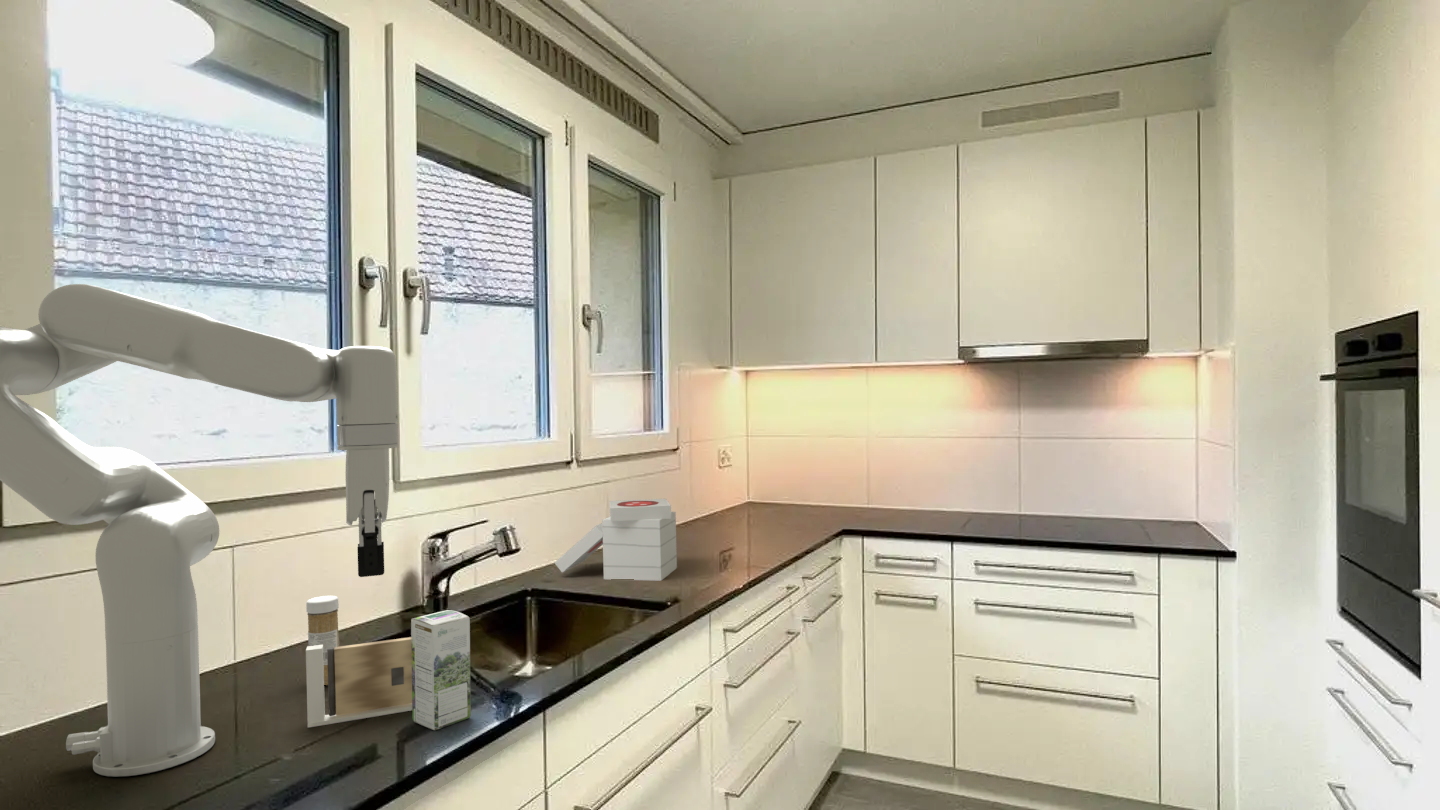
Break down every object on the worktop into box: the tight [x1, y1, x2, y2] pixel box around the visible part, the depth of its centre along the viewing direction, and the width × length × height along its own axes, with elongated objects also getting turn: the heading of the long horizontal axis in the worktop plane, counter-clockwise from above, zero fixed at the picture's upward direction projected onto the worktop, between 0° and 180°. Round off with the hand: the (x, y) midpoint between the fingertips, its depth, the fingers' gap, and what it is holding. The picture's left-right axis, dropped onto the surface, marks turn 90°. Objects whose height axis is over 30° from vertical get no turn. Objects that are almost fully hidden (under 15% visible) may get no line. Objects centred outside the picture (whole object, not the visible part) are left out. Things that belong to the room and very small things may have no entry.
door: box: [327, 636, 412, 716], centre depth 111 cm, size 11×1×9 cm, turn 114°
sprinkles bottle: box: [305, 595, 340, 686], centre depth 125 cm, size 5×5×13 cm
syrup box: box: [410, 609, 472, 731], centre depth 109 cm, size 6×6×14 cm
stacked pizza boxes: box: [554, 498, 678, 582], centre depth 202 cm, size 19×30×18 cm, turn 78°
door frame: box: [305, 644, 412, 728], centre depth 111 cm, size 16×2×10 cm, turn 114°
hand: (371, 572), depth 106 cm, fingers closed
